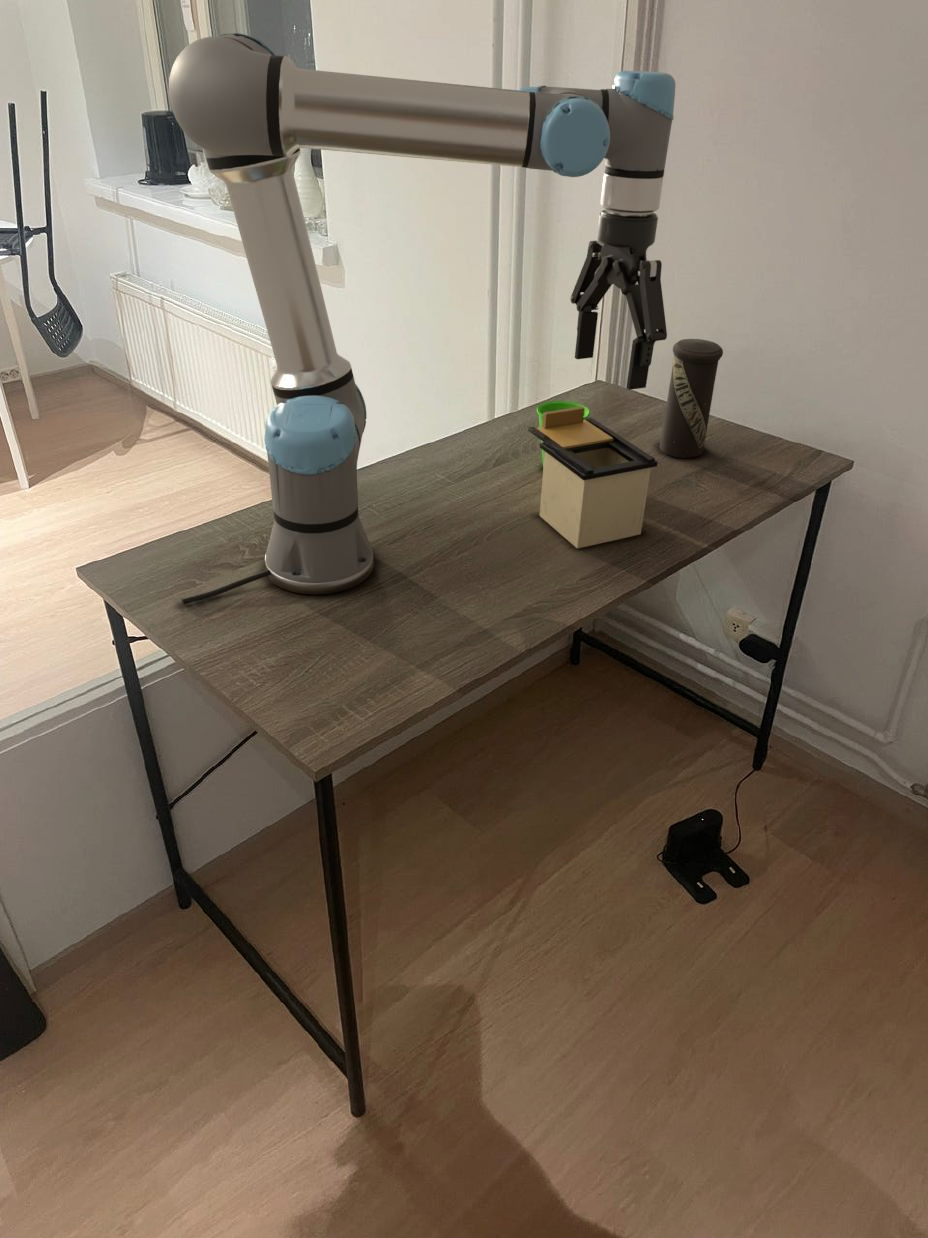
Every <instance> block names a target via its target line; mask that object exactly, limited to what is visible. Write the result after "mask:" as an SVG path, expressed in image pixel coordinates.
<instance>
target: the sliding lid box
mask: <svg viewBox="0 0 928 1238" xmlns="http://www.w3.org/2000/svg"><path fill="white" fill-rule="evenodd" d="M586 421H588V422H589V423H591V424H592V425H594V426H595V427H597V428H598V429H600V430H601V431H603V432H604V433H606V434H608V435H609V436H611V437H612V438H613V441H608V442H602V443H596V444H590V445H585V446H579V447H573V448H568V449H564V448H563V447H561V446H560V445H559V444H557V443H556V442H555V441H553V440H552V439H550V438H549V437H548V436H546V435H545V434H544V433H542V432H541V431H539V430H538V429H537V428H538V427H535V426H529V427H528V430H527V431H528V432H529V433H530V434H532V435H533V436H534V437H536V438H537V439H539V440H540V441H541V440H542V441H543V442H542V443H541V442H539V449H541V450H542V449H543V450H544V451H545V455H544V467H543V466H542V467H543V469H542V480H541V481H542V482H541V493H540V506H539V517H540V518H541V519H542V520H544V522H546V523H547V524H548V525H549V526H551V527H552V528H553V529H554V530H555V531H556V532H558V533H559V534H560V535H561V536H562V537H563V538H564V539H565V540H567V541H568V542H569V543H570V544H571V545H572V546H573V547H575V548H576V549H582V548H586V547H591V546H595V545H599V544H603V543H608V542H609V543H610V542H613V541H618V540H622V539H626V538H630V537H635V536H639V535H642V529H643V522H644V517H645V509H646V502H647V495H648V491H649V490H648V489H649V483H650V478H651V471H652V470H651V469H652V468H655V467H658V460H656V458H655V457H654V456H652V455H651V454H649V453H647V452H645V451H644V450H643V449H641V448H640V447H638V446H636V445H635V444H633V443H632V442H630V441H629V440H627V439H625V438H624V437H623V436H621V435H619V434H618V433H616V432H615V431H613V430H611V428H609V427H607V426H605V425H604V424H602V423H601V422H600V421H598V420H597V419H595V418H594V417H590V416H588V417H587V418H586Z"/></svg>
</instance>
